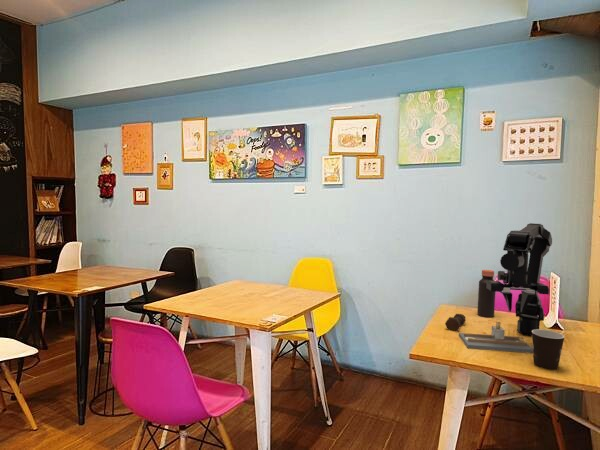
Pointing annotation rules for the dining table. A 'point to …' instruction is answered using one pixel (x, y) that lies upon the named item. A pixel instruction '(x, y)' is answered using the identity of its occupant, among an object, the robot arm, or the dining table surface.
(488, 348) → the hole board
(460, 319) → the bolt
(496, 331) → the sliding pin block
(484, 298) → the bottle
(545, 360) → the coffee mug
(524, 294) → the robot arm
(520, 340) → the fixed brass pin
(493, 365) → the dining table surface
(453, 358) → the dining table surface
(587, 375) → the dining table surface
